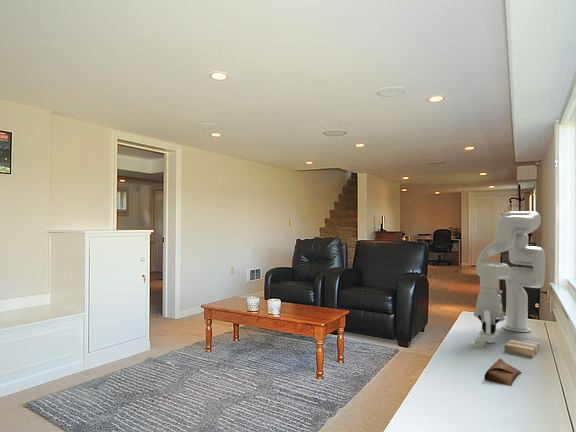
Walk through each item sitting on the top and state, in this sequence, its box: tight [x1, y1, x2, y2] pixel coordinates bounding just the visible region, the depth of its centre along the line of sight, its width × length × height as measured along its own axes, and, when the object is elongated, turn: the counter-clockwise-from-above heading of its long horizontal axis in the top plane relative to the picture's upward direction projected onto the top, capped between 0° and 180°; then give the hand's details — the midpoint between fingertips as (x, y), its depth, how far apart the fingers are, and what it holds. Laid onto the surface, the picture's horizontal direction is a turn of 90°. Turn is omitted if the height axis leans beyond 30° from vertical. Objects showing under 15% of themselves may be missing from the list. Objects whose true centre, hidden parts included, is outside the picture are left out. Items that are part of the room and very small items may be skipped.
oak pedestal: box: [504, 339, 539, 359], centre depth 167 cm, size 11×10×3 cm
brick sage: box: [474, 336, 486, 349], centre depth 174 cm, size 6×3×3 cm, turn 143°
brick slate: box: [522, 339, 541, 351], centre depth 172 cm, size 6×3×3 cm, turn 45°
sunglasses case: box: [484, 358, 522, 387], centre depth 139 cm, size 18×7×7 cm, turn 141°
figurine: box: [478, 310, 500, 344], centre depth 180 cm, size 7×9×15 cm
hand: (488, 331), depth 180 cm, fingers closed on figurine, 2 cm apart
